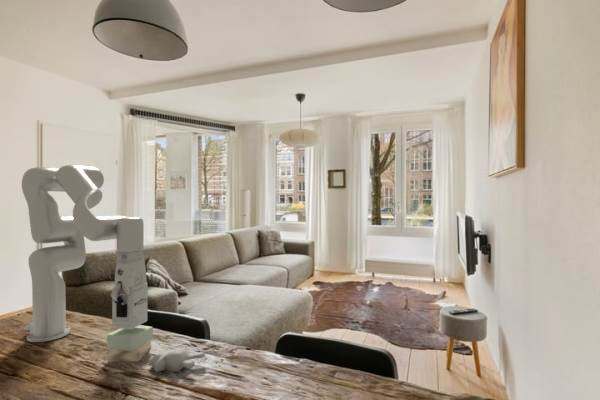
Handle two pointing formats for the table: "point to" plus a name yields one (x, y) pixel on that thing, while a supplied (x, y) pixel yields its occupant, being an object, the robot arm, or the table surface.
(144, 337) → the block top
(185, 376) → the table surface
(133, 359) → the block bottom
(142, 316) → the supplement box
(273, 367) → the table surface
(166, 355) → the bunny figurine
